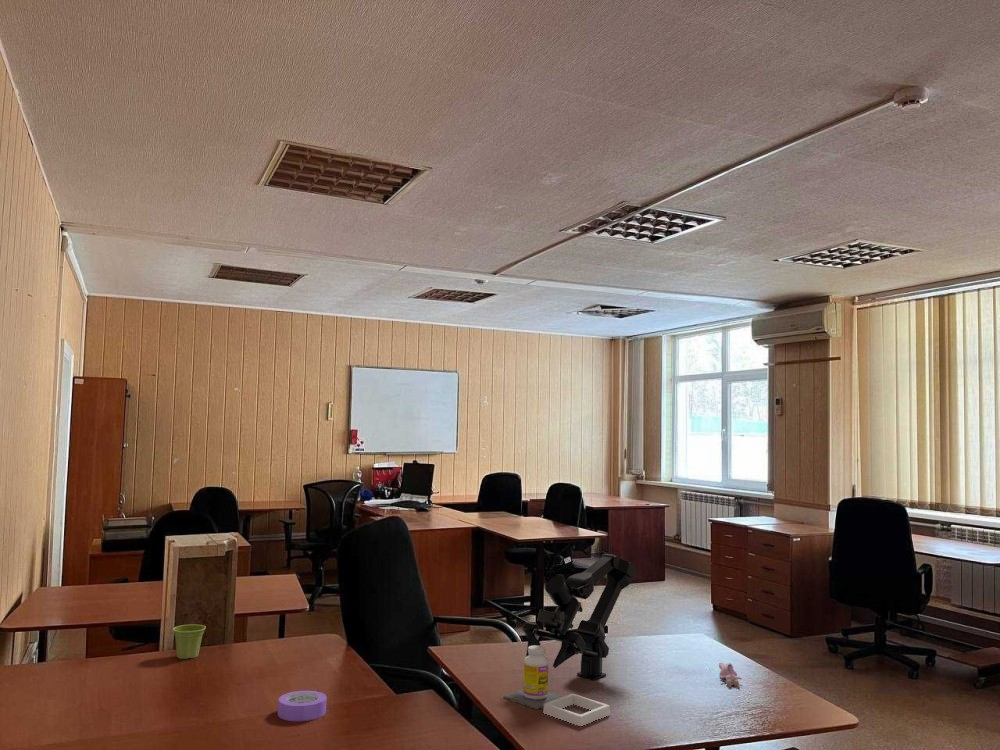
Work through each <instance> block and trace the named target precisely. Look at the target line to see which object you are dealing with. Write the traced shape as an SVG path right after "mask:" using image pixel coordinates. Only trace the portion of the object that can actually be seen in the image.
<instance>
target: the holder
mask: <svg viewBox="0 0 1000 750" xmlns="http://www.w3.org/2000/svg"><path fill="white" fill-rule="evenodd" d="M563 696H564V697H561V698H559V699H556V700H553V701H550V702H547V703H545V704H544V707H543V713H544V714H543V715H545V714H547V715H546V716H548V715H550V716H549V717H551V716H553V717H555V718H554V719H556V718H558V719H557V720H559V719H561V720H560V721H562V720H564V721H567V722H569V723H568V724H570V723H572V724H571V725H573V724H575V725H574V726H576V725H578V726H583V725H585V726H587V725H586V724H588V723H590V724H592V723H591V722H593V721H595V720H597V721H599V720H598V719H600V720H602V719H604V717H605V718H606V716H607V717H609V716H611V715H610V714H611V713H610V712H611V711H610V709H611V708H610V707H611V705H610V704H606V703H604V702H601V701H599V700H598V701H597V700H595V699H592V698H587V697H585V696H582V695H579V694H575V693H570V694H567V695H563ZM573 704H574V705H573ZM570 705H572V706H575V705H577V706H576V707H578V706H580V707H579V708H581V707H583V708H582V709H584V708H586V709H585V710H587V709H589V710H587V711H586V712H584V713H581V714H579V713H577V712H574V711H570V710H568V709H566V708H568V707H567V706H569V707H571V706H570ZM565 707H566V708H565ZM562 708H564V709H562ZM590 710H591V711H590ZM553 717H552V718H553ZM601 718H602V719H601ZM564 721H563V722H564ZM567 722H566V723H567ZM595 722H596V721H595ZM593 723H594V722H593ZM588 725H589V724H588ZM578 726H577V727H578ZM583 727H584V726H583Z"/></svg>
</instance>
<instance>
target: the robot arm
mask: <svg viewBox="0 0 1000 750" xmlns="http://www.w3.org/2000/svg"><path fill="white" fill-rule="evenodd" d="M636 575H637V570H636V567H635V565H634V563H633V562H631V561H630V562H629V561H627V560H624V559H622V558H620V557H619V556H618V555H615V554H610V553H603V554H601V555H600V557H599V558H598V559H597V560H596V561H595V562H594V563H592V564H591V565H590V566H589V567H587V569H585V570H584V571H583V572H582V571H581V572H579V573H575V574H571V575H570V576H568V577H567V578H565V576H564V574H563V575H562V574H557V575H556V576H555V577H553V578H552V577H551V579H549V580H547V582H546V583H545V586H544V589H545V592H546V593H547V594H548V596H549V598H550V600H551V601H552V602H553V604H554V605H556V608H555V610H551V611H550V610H545V609H539V611H538V613H537V615H538V616H537V619H536V621H537V622H540V623H542V627H543V629H545V630H543V629H542V628H541V627H540V626H539V623H536V622H530V621H526V622H524V624H523V626H522V627H521V630H522V631H523V632H524V634H525V636H526V638H527V648H526V655H525V658H526V657H527V656H529V653H528V647H529V646H534V645H536V646H542V645H541V642H543V640H544V639H548V640H553V641H557V642H560V643H561V645H560V648H559V651H558V652H557V654H556V657H555V659H554V661H553V664H552V667H553V668H554V669H556V668H557V667H559V666H560V665H562V664H563V663H565V662H566V661H567V660H569V659H570V658H572V657H573V656H575V655H578V654H581V658H580V671H579V672H577V673H576V676H579V675H580V677H583V678H587V679H590V680H598V679H599V678H602V677H603V678H604V677H606V676H607V673H606V672H603V658H604V659H605V658H607V657H608V656H609V650H610V648H609V646H608V644H607V642H606V641H605V639H606V634H605V627H606V625H607V622H608V620H609V618H610V616H611V613H612V612H613V609H614V607H615V605H616V603H617V601H618V598H619V597H620V595H621V592H622V591H623V590H624V589H625V588H627V587H629V586H630V585H631V584H632V582H633V580H634V579H635V577H636ZM605 576H606V579H607V582H606V585H605V586H604V588H603V591H602V593H601V594H600V597H599V598H598V601H597V603H596V605H595V607H594V609H593V611H592V613H591V615H590V617H589V619H587V620H584V619H582V620H580V621H579V625H578V626H577V628H576V629H575V631H571V630H572V629H573V628H574V624H573V622H574V619H576V616H577V613H578V612H579V613H583V607H582V602H581V601H579V600H578V599H581V600H587V599H589V597H591V595H592V593H594V590H595V588H594V587H595V585H596V584H597V583H598V582H600V581H601V580H602V579H603V578H604V577H605Z"/></svg>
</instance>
